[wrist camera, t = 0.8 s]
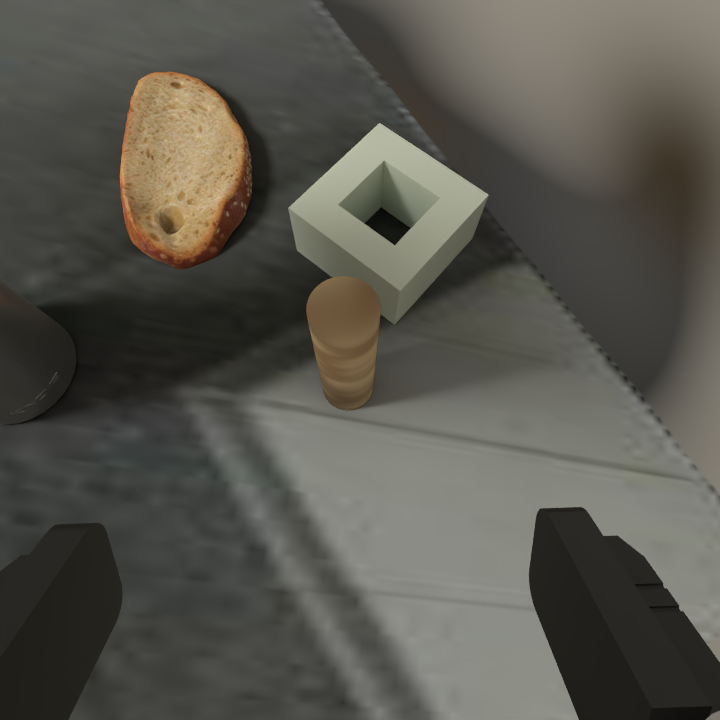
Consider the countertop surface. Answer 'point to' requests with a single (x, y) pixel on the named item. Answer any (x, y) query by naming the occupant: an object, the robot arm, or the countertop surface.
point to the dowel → (345, 338)
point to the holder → (402, 200)
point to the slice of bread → (182, 170)
